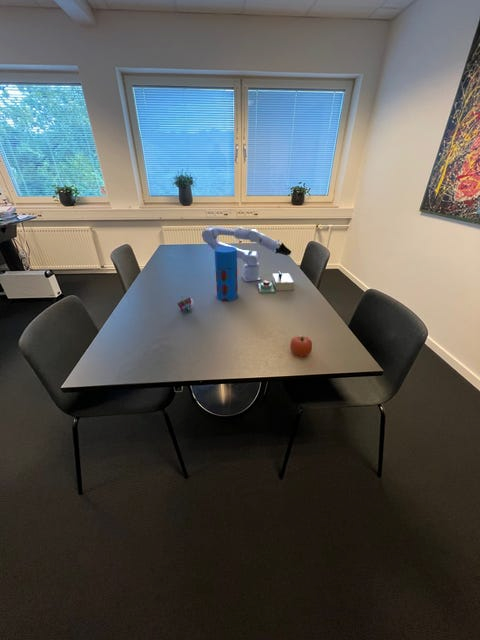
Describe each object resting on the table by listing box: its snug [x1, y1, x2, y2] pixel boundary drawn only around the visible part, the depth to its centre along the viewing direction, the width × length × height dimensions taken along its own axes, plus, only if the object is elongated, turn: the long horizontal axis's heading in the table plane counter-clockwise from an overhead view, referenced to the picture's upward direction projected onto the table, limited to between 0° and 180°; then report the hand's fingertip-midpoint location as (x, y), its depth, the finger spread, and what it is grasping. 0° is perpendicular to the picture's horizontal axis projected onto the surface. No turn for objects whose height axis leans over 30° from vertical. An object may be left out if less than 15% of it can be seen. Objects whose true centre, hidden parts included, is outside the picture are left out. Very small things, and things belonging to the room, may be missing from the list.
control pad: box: [257, 281, 276, 294], centre depth 143 cm, size 8×11×3 cm
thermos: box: [214, 245, 239, 302], centre depth 129 cm, size 11×11×25 cm
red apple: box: [289, 335, 313, 357], centre depth 93 cm, size 8×8×7 cm
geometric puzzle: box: [177, 296, 195, 312], centre depth 121 cm, size 7×7×8 cm
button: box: [262, 279, 270, 285], centre depth 142 cm, size 3×3×2 cm
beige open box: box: [272, 276, 295, 291], centre depth 146 cm, size 9×13×4 cm
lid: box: [272, 270, 295, 284], centre depth 144 cm, size 10×13×4 cm
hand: (289, 253), depth 145 cm, fingers open, 7 cm apart
